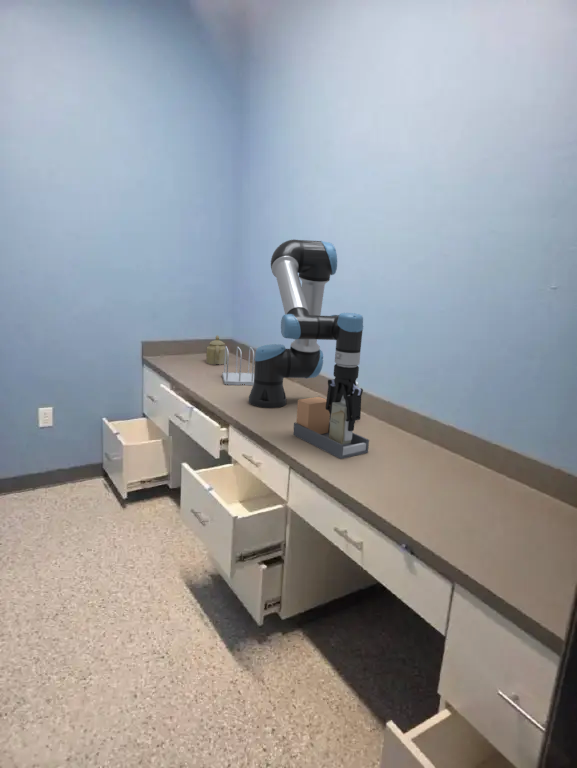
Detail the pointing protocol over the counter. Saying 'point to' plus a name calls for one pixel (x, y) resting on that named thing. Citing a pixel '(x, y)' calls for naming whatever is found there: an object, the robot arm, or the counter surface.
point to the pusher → (313, 414)
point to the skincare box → (338, 422)
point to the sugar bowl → (216, 352)
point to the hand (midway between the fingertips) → (340, 436)
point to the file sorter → (239, 377)
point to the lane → (332, 442)
